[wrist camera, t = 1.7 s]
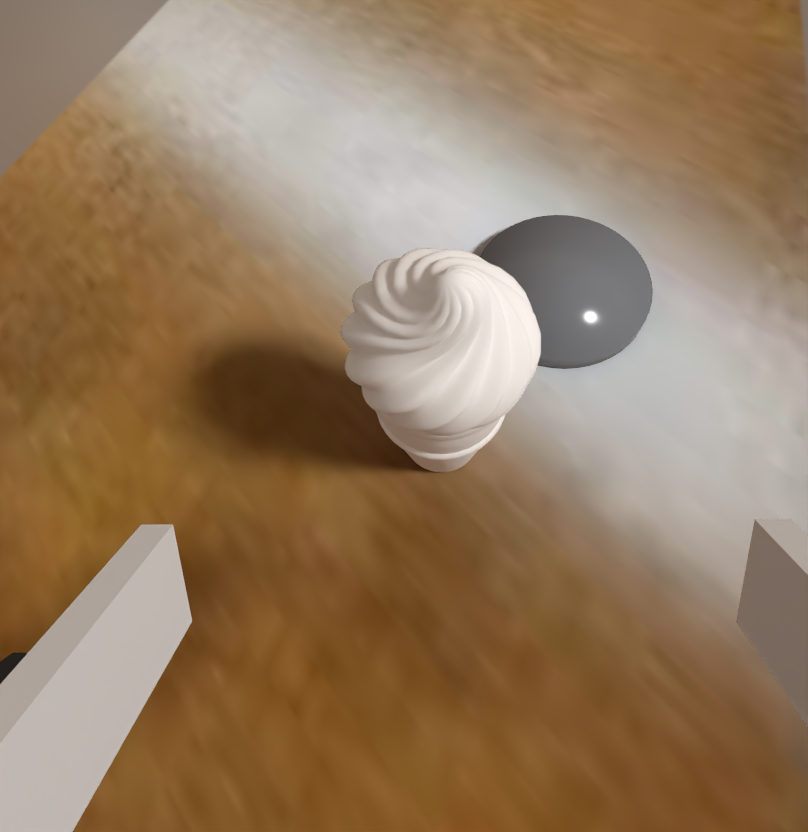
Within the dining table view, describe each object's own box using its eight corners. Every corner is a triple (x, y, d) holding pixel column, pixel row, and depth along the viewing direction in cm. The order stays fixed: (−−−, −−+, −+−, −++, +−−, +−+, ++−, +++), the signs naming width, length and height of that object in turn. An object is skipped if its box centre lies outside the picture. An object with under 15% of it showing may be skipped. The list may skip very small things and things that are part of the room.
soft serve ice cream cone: (341, 441, 36) (270, 271, 21) (437, 349, 38) (433, 139, 23) (445, 538, 33) (446, 420, 19) (543, 434, 35) (613, 255, 21)
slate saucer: (442, 268, 40) (442, 259, 40) (580, 202, 42) (583, 191, 41) (533, 398, 36) (535, 390, 35) (684, 318, 38) (690, 309, 37)
